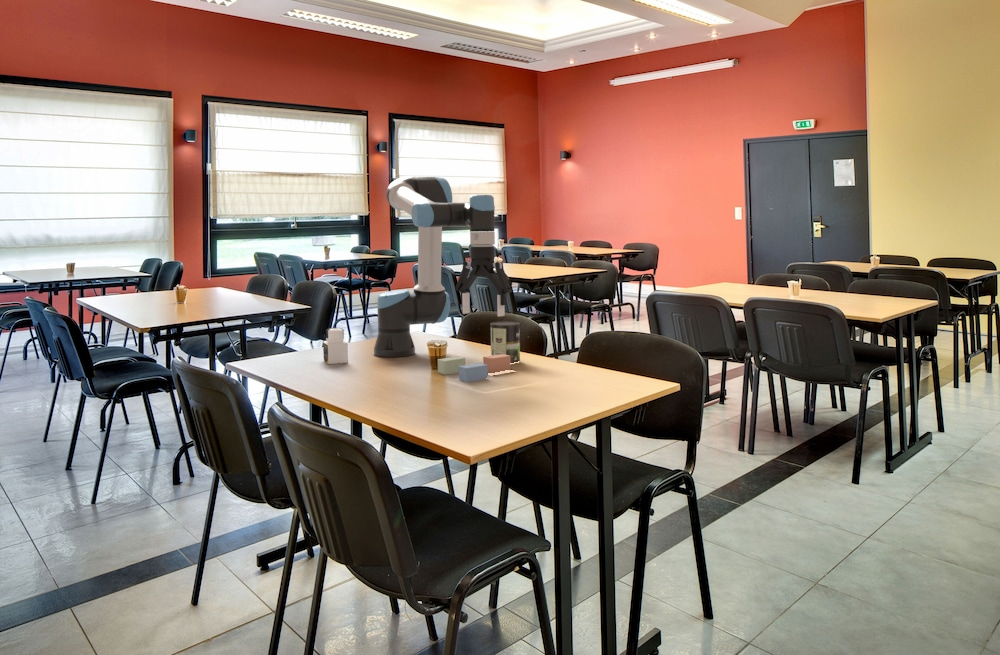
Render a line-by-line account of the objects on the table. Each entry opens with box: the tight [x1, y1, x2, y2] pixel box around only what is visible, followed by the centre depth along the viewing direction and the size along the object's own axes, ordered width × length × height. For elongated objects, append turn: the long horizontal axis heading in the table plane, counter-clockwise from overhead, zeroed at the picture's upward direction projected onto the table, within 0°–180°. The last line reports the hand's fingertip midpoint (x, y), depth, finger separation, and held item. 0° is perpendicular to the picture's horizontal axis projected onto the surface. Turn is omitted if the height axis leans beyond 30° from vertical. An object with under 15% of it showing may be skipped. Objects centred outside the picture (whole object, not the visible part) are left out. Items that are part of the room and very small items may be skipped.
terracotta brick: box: [482, 354, 511, 373], centre depth 238 cm, size 8×4×5 cm, turn 127°
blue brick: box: [458, 362, 489, 383], centre depth 226 cm, size 8×4×5 cm, turn 127°
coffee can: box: [489, 320, 521, 363], centre depth 253 cm, size 10×10×14 cm
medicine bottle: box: [322, 327, 349, 365], centre depth 257 cm, size 7×7×12 cm
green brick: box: [437, 356, 466, 375], centre depth 238 cm, size 8×4×5 cm, turn 127°
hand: (483, 314), depth 228 cm, fingers open, 13 cm apart
